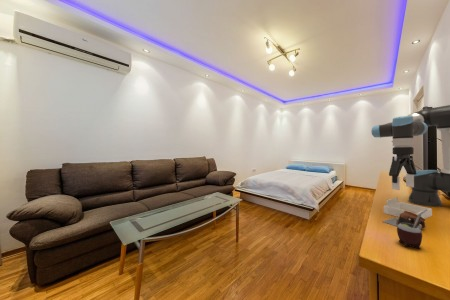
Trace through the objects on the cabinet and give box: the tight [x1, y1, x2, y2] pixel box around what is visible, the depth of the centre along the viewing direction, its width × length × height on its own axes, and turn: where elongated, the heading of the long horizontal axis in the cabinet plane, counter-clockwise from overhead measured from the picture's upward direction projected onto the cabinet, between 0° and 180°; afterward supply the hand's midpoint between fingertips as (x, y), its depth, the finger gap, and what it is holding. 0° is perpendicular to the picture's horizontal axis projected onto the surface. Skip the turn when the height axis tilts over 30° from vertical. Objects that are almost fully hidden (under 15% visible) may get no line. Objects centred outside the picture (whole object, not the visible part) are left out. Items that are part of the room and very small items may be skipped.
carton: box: [383, 197, 433, 220], centre depth 101 cm, size 18×14×7 cm
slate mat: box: [382, 217, 427, 230], centre depth 88 cm, size 12×12×1 cm
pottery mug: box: [396, 210, 426, 229], centre depth 84 cm, size 12×9×8 cm
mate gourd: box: [396, 209, 427, 250], centre depth 70 cm, size 8×8×15 cm
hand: (403, 188), depth 88 cm, fingers open, 13 cm apart
